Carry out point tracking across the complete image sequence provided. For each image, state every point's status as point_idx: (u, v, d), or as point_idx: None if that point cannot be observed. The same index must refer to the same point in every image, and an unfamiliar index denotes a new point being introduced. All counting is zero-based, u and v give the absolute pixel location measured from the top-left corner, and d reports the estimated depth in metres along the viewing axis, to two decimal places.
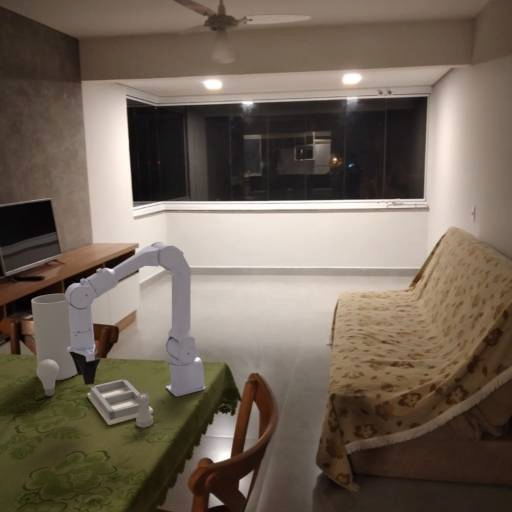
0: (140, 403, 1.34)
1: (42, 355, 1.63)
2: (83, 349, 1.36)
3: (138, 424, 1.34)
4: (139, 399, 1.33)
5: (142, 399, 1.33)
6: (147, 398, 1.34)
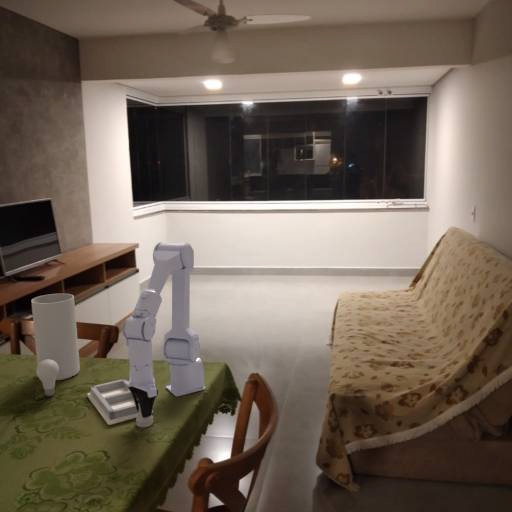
0: None
1: (42, 355, 1.63)
2: (143, 384, 1.31)
3: (138, 424, 1.34)
4: None
5: None
6: None
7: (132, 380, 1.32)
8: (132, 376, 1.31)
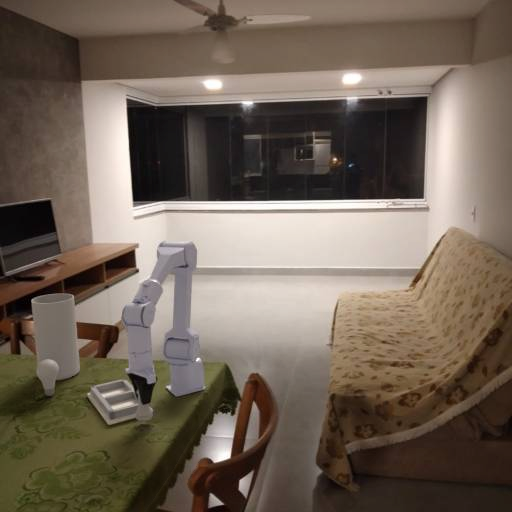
0: (139, 396, 1.34)
1: (42, 355, 1.63)
2: (143, 370, 1.30)
3: (137, 417, 1.34)
4: (138, 392, 1.33)
5: None
6: None
7: (131, 367, 1.31)
8: (131, 363, 1.31)
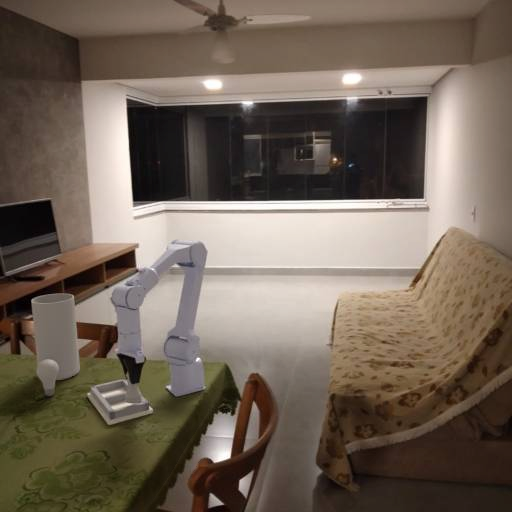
0: (128, 379, 1.38)
1: (42, 355, 1.63)
2: (131, 351, 1.35)
3: (126, 400, 1.38)
4: (127, 375, 1.37)
5: None
6: None
7: (120, 347, 1.35)
8: (120, 343, 1.35)
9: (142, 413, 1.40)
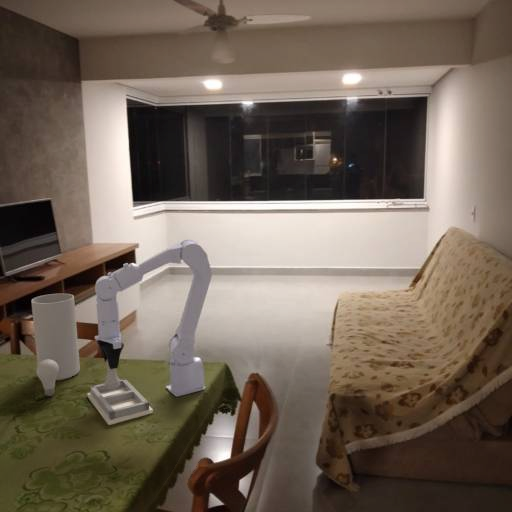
0: (107, 367, 1.49)
1: (42, 355, 1.63)
2: (110, 338, 1.45)
3: (105, 386, 1.49)
4: (106, 363, 1.48)
5: None
6: None
7: (100, 334, 1.46)
8: (100, 331, 1.46)
9: (142, 413, 1.40)
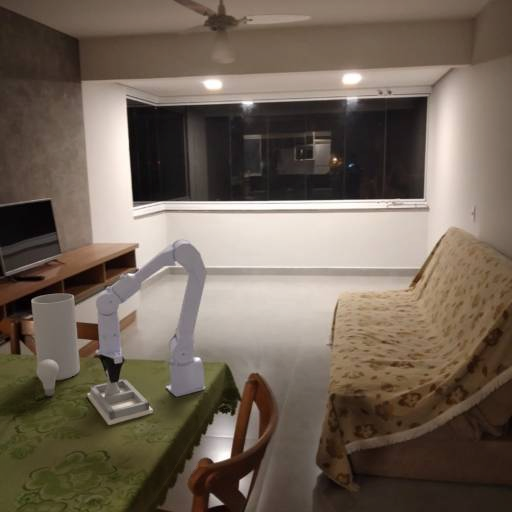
0: (108, 376, 1.49)
1: (42, 355, 1.63)
2: (111, 352, 1.46)
3: (106, 395, 1.49)
4: (106, 372, 1.49)
5: None
6: None
7: (101, 349, 1.47)
8: (101, 345, 1.46)
9: (142, 413, 1.40)
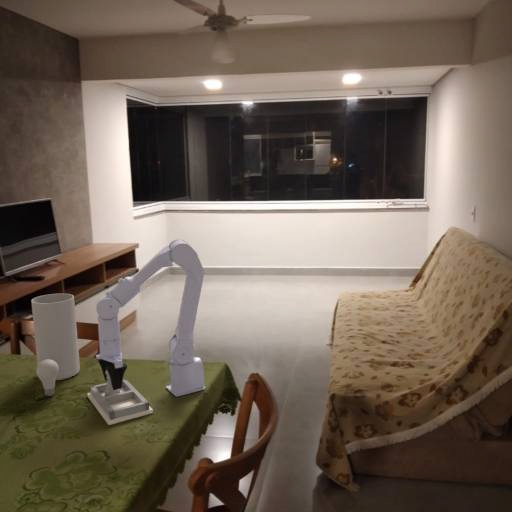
0: (108, 376, 1.49)
1: (42, 355, 1.63)
2: (111, 357, 1.46)
3: (106, 395, 1.49)
4: (106, 372, 1.49)
5: None
6: None
7: (101, 353, 1.47)
8: (101, 350, 1.47)
9: (142, 413, 1.40)
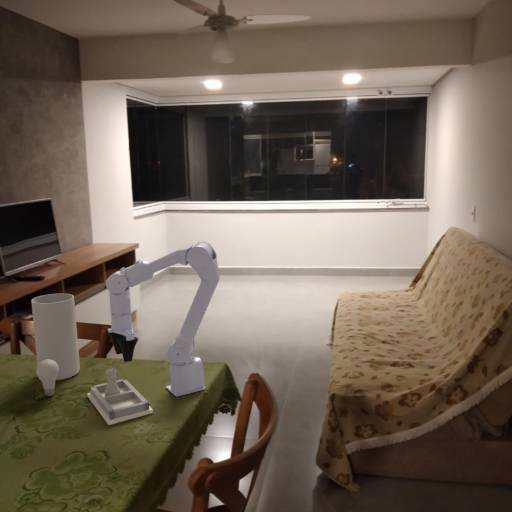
0: (108, 376, 1.49)
1: (42, 355, 1.63)
2: (123, 330, 1.52)
3: (106, 395, 1.49)
4: (106, 372, 1.49)
5: (109, 372, 1.48)
6: (114, 372, 1.49)
7: (113, 327, 1.52)
8: (113, 323, 1.52)
9: (142, 413, 1.40)
